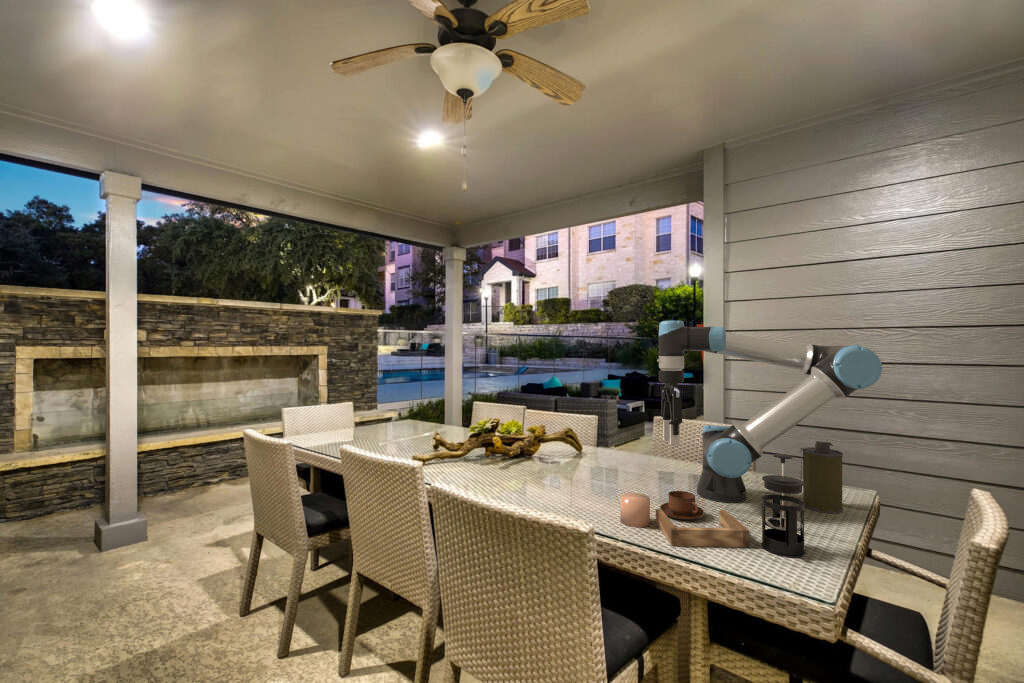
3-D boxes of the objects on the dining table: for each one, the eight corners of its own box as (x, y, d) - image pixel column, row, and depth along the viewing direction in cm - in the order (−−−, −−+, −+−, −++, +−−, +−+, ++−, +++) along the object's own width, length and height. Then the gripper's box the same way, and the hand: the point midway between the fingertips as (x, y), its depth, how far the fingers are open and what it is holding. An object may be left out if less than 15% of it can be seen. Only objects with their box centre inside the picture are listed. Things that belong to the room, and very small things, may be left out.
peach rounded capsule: (645, 517, 137) (645, 493, 137) (653, 527, 129) (653, 502, 129) (617, 516, 137) (618, 492, 137) (623, 527, 129) (623, 501, 129)
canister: (839, 504, 148) (839, 440, 148) (846, 515, 139) (846, 447, 139) (798, 500, 153) (798, 437, 153) (803, 510, 143) (803, 443, 143)
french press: (755, 538, 122) (755, 449, 122) (795, 541, 120) (795, 450, 120) (771, 559, 110) (770, 460, 111) (815, 562, 109) (815, 462, 109)
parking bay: (724, 524, 131) (724, 510, 132) (749, 546, 117) (749, 530, 117) (655, 523, 132) (655, 509, 132) (671, 545, 118) (671, 529, 118)
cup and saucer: (710, 516, 139) (710, 494, 139) (692, 526, 130) (692, 504, 130) (672, 505, 147) (672, 486, 147) (652, 515, 139) (652, 494, 139)
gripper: (651, 368, 159) (651, 436, 159) (668, 371, 140) (668, 449, 140) (673, 368, 159) (673, 437, 159) (694, 371, 140) (694, 449, 140)
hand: (671, 442), depth 149 cm, fingers open, 6 cm apart
